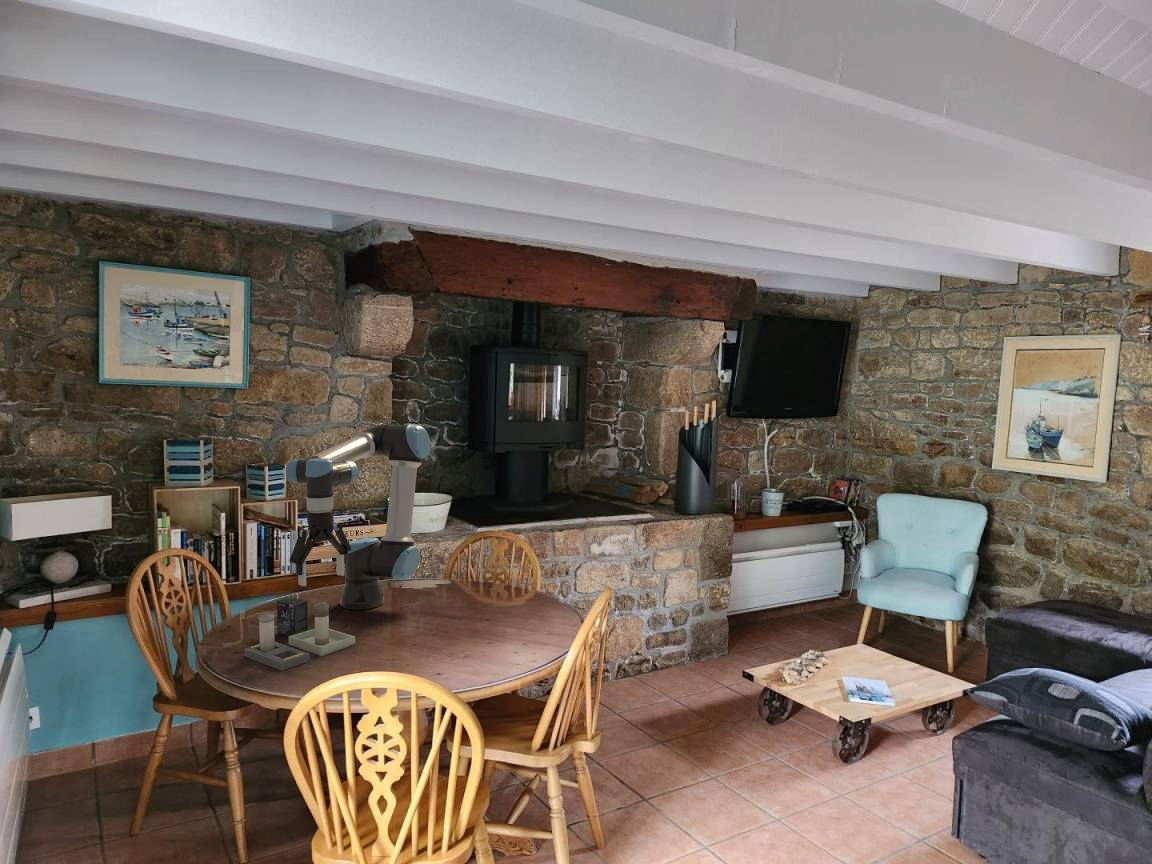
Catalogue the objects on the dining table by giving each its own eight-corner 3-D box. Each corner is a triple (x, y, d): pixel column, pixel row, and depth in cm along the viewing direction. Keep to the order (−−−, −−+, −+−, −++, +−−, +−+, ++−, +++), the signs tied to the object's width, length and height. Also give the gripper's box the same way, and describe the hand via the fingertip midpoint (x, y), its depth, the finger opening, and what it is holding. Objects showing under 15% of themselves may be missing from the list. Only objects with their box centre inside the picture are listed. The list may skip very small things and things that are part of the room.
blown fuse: (323, 639, 237) (322, 600, 236) (332, 642, 235) (331, 603, 234) (311, 643, 234) (311, 604, 233) (320, 646, 231) (320, 606, 230)
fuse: (269, 651, 228) (268, 611, 227) (278, 654, 225) (277, 614, 224) (256, 655, 224) (255, 615, 224) (265, 659, 222) (264, 618, 221)
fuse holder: (244, 656, 224) (244, 648, 224) (272, 647, 231) (272, 639, 231) (281, 670, 213) (281, 661, 213) (309, 661, 221) (309, 652, 221)
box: (276, 633, 244) (276, 600, 243) (291, 628, 249) (291, 596, 248) (294, 638, 240) (293, 604, 239) (308, 633, 245) (308, 600, 244)
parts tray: (288, 644, 234) (288, 636, 234) (322, 634, 244) (321, 626, 244) (321, 656, 225) (321, 647, 225) (355, 644, 235) (355, 636, 234)
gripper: (346, 503, 244) (347, 569, 246) (275, 515, 223) (277, 587, 225) (361, 505, 239) (363, 572, 241) (291, 518, 219) (293, 592, 221)
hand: (321, 580), depth 233 cm, fingers open, 13 cm apart
